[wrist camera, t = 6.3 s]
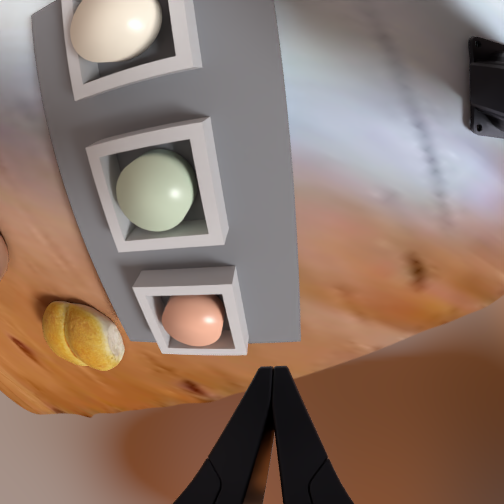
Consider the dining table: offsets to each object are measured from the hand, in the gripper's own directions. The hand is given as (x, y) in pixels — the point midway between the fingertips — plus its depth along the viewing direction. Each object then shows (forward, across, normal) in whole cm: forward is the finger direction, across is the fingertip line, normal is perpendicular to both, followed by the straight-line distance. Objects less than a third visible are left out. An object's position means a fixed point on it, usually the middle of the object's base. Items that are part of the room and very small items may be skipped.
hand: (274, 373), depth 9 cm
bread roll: (+12, +20, +11) cm, 26 cm away
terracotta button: (+10, +6, +6) cm, 13 cm away
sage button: (+10, +6, -3) cm, 12 cm away
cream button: (+9, +6, -12) cm, 16 cm away
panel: (+12, +6, -3) cm, 14 cm away
